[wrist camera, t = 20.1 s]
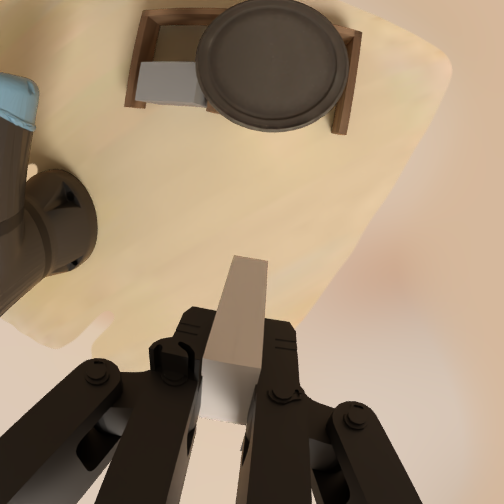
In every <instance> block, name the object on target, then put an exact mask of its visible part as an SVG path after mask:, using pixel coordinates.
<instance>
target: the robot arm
mask: <svg viewBox="0 0 504 504" xmlns="http://www.w3.org/2000/svg"><path fill="white" fill-rule="evenodd" d="M38 101H39V88H38V86H37V84H36V83H35V82H34V81H32V80H30V79H28V78H24V77H20V76H16V75H12V74H7V73H2V72H0V317H1V316H2V315H3V314H4V313H5V312H6V311H7V310H8V309H9V308H10V307H11V306H12V305H13V304H15V303H16V302H17V301H18V300H19V299H20V298H21V297H22V296H23V295H25V294H26V293H27V292H28V291H29V290H30V289H31V288H33V287H34V286H35V285H36V284H37V283H38V282H40V281H41V280H42V279H43V278H45V277H47V276H52V275H56V274H60V273H64V272H68V271H71V270H73V269H75V268H77V267H78V266H79V265H81V264H82V263H83V262H84V261H86V260H87V259H88V257H89V256H90V255H91V253H92V251H93V249H94V247H95V244H96V239H97V217H96V212H95V209H94V205H93V203H92V200H91V198H90V196H89V194H88V192H87V191H86V189H85V188H84V186H83V185H82V184H81V183H80V181H79V180H78V179H76V178H75V177H74V176H73V175H71V174H70V173H68V172H66V171H63V170H58V169H52V170H47V171H44V172H41V173H38V174H36V175H34V176H33V177H31V178H30V179H29V180H28V181H27V182H26V177H27V168H28V161H29V154H30V147H31V141H32V135H33V131H35V129H36V126H35V118H36V112H37V107H38ZM267 268H268V261H265V260H259V259H253V258H247V257H241V256H236V255H234V257H233V260H232V263H231V267H230V270H229V273H228V276H227V279H226V283H225V286H224V289H223V292H222V296H221V299H220V302H219V305H218V309H217V311H215V310H209V309H204V308H199V307H194V306H193V307H191V308H190V309H188V310H187V311H186V312H184V313H183V315H182V318H181V320H180V322H179V324H178V326H177V329H176V332H175V333H174V335H173V337H169V338H163V339H160V340H158V341H156V342H154V343H153V344H152V345H151V346H150V347H149V358H150V369H151V370H148V371H145V372H120V371H119V369H118V366H116V365H115V364H114V363H113V362H112V361H109V360H106V359H101V358H94V359H90V360H86V361H85V362H83V363H81V364H80V365H79V366H78V367H76V368H75V369H74V370H73V371H72V372H71V373H70V374H69V375H68V376H66V377H65V378H64V379H63V380H62V381H61V382H60V383H59V384H57V385H56V386H55V387H54V388H53V389H52V390H51V391H50V392H49V393H47V394H46V395H45V396H44V397H43V398H42V399H41V400H40V401H39V402H38V403H36V404H35V405H34V406H33V407H32V408H31V409H30V410H29V411H28V412H27V413H26V414H25V415H23V416H22V417H21V418H20V419H19V420H18V421H17V422H16V423H15V424H14V425H13V426H12V427H11V428H9V430H7V431H6V432H5V433H4V434H3V435H2V436H1V437H0V504H77V502H78V501H79V500H80V499H81V498H82V496H83V495H84V494H85V493H86V491H87V490H88V489H89V488H90V486H91V485H92V484H93V483H94V481H95V480H96V479H97V478H98V476H99V475H100V474H101V473H102V471H103V470H104V469H105V468H106V466H107V465H108V464H109V462H110V461H111V463H110V465H109V468H108V470H107V473H106V475H105V478H104V480H103V483H102V485H101V488H100V490H99V493H98V496H97V498H96V501H95V503H94V504H179V502H180V497H181V493H182V489H183V484H184V480H185V476H186V471H187V467H188V463H189V459H190V455H191V451H192V446H193V442H194V438H195V434H196V422H197V419H198V415H199V417H201V418H207V419H211V420H217V421H222V422H228V423H235V424H241V425H246V424H247V425H246V433H245V436H244V439H243V443H242V446H241V450H240V451H242V456H241V464H240V472H239V481H238V489H237V497H236V504H312V497H311V488H312V491H313V494H314V497H315V501H316V504H422V502H421V500H420V498H419V496H418V494H417V492H416V490H415V488H414V486H413V484H412V482H411V480H410V478H409V476H408V474H407V472H406V471H405V469H404V467H403V465H402V463H401V461H400V459H399V457H398V455H397V453H396V452H395V450H394V448H393V446H392V444H391V442H390V440H389V438H388V436H387V435H386V433H385V431H384V429H383V427H382V425H381V423H380V422H379V420H378V418H377V416H376V415H375V413H374V412H373V411H372V410H371V408H369V407H368V406H366V405H364V404H362V403H359V402H356V401H346V402H344V403H341V404H339V405H338V406H337V407H336V408H332V407H329V406H326V405H323V404H320V403H318V402H316V401H313V400H312V399H311V398H309V397H308V396H307V395H306V394H305V392H304V390H303V389H302V388H301V386H300V383H299V370H298V356H297V355H298V354H297V344H296V331H295V330H294V328H293V327H292V325H291V324H290V322H286V321H279V320H273V319H267V318H265V303H266V286H267Z"/></svg>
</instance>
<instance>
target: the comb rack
mask: <svg viewBox="0 0 504 504" xmlns="http://www.w3.org/2000/svg"><path fill="white" fill-rule="evenodd" d="M225 10H227V9H223V8H173V9H156V10H145V11H143V12H142V16H141V20H140V24H139V28H138V33H137V37H136V42H135V46H134V51H133V56H132V61H131V67H130V72H129V78H128V84H127V91H126V97H125V105H124V107H132V108H145V107H146V102H142V101H136V100H135V96H136V90H137V83H138V77H139V71H140V66H141V62H153V58H154V53H155V48H156V43H157V38H158V34H159V30H160V26H168V25H210V24H211V22H212V21H213V20H214V19H215V18H216V17H218V16H219V15H220V14H221V13H223V12H224V11H225ZM333 26H334V27H335V28H336V30H337V31H338V32H339V34H340V36H341V38H342V39H343V41H344V44H345V46H346V49H347V54H348V60H349V72H348V78H347V83H346V86H345V89H344V91H343V93H342V95H341V97H340V99H339V100H338V101H337V105H336V110H335V116H334V122H333V127H332V132H331V133H334V134H338V135H346V134H347V129H348V123H349V118H350V112H351V106H352V100H353V94H354V88H355V82H356V75H357V68H358V61H359V54H360V46H361V38H362V32H360V31H356V30H353V29H349V28H346V27H342V26H338V25H334V24H333ZM206 111H209V112H212V113H218V114H220V113H219V112H217V111H216V110H215V109H214V108H213V107H212V106H211V104H210V103H209V102H207V109H206Z"/></svg>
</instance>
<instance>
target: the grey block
mask: <svg viewBox="0 0 504 504" xmlns="http://www.w3.org/2000/svg"><path fill="white" fill-rule="evenodd" d="M135 100H136V101H142V102H148V103H154V104H159V105H177V106H192V107H204V108H207V102H208V100H207V99H206V97H205V96H204V94H203V92H202V91H201V88H200V86H199V83H198V80H197V76H196V70H195V62H173V61H161V62H141V66H140V71H139V77H138V83H137V90H136V96H135Z"/></svg>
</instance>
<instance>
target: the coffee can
mask: <svg viewBox="0 0 504 504" xmlns="http://www.w3.org/2000/svg"><path fill="white" fill-rule="evenodd" d="M195 70H196V76H197V80H198V83H199V86H200V88H201V91H202V92H203V94H204V96H205V97H206V99H207V100H208V102H209V103H210V104H211V106H212V107H213V108H214V109H215V110H216V111H217V112H219V113H220V114H221V115H222V116H224V117H225V118H227V119H228V120H230V121H231V122H233V123H235V124H237V125H240V126H242V127H245V128H248V129H251V130H256V131H262V132H286V131H291V130H296V129H299V128H303V127H305V126H308V125H310V124H312V123H314V122H316V121H317V120H319V119H320V118H321V117H323V116H324V115H325V114H327V113H328V112H329V111H330V110H331V109H332V108H333V107H334V105H335V104H336V103H337V101H338V100H339V99H340V97H341V95H342V93H343V91H344V89H345V86H346V83H347V78H348V72H349V60H348V54H347V49H346V47H345V44H344V41H343V39H342V38H341V36H340V34H339V32H338V31H337V30H336V28H335V27H334V26H333V24H332V23H331V22H330V21H329V20H328V19H327V18H326V17H325V16H323V15H322V14H321V13H320V12H318V11H317V10H315V9H313V8H312V7H309V6H307V5H305V4H303V3H300V2H297V1H294V0H248V1H244V2H242V3H239V4H237V5H235V6H232V7H230V8H229V9H227V10H225V11H224V12H223V13H221V14H220V15H219V16H218V17H216V18H215V19H214V20H213V21H212V22H211V24H210V25H209V26H208V28H207V29H206V30H205V32H204V33H203V35H202V37H201V39H200V42H199V44H198V47H197V52H196V59H195Z"/></svg>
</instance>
